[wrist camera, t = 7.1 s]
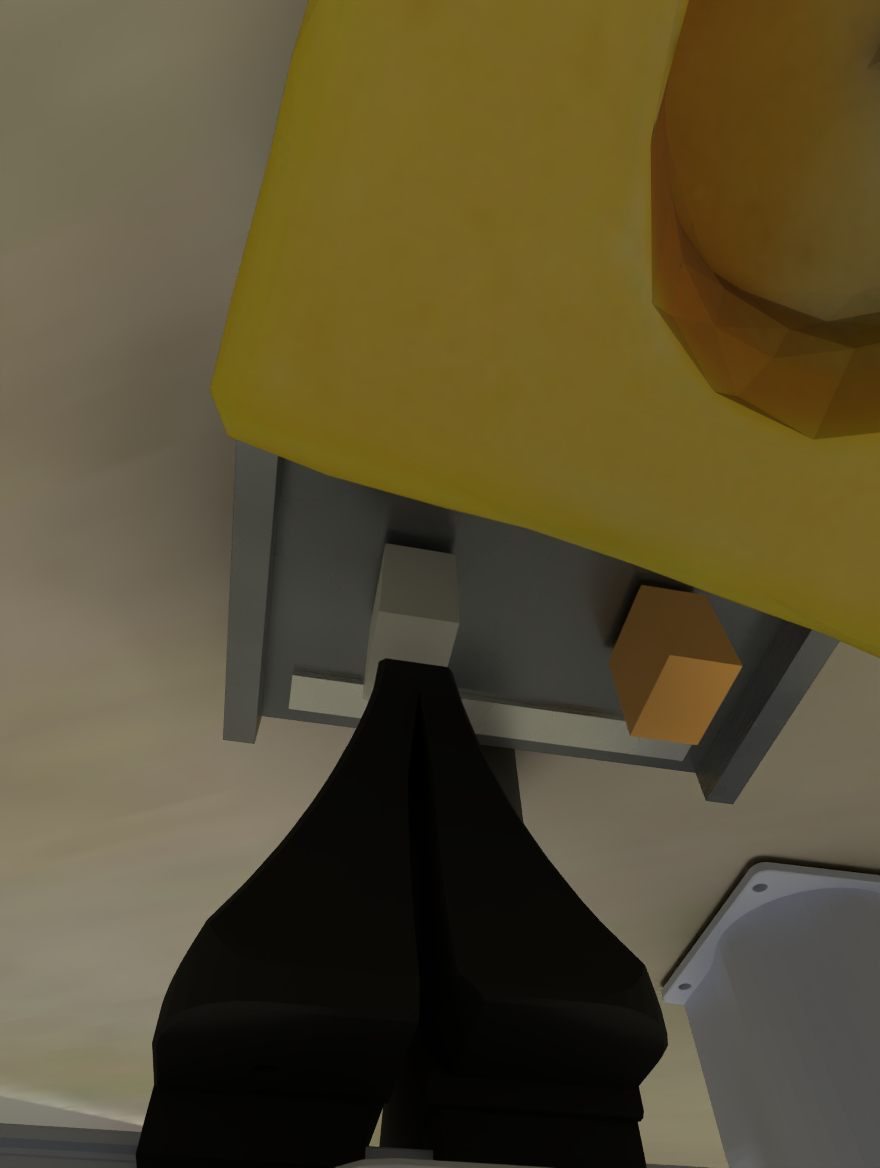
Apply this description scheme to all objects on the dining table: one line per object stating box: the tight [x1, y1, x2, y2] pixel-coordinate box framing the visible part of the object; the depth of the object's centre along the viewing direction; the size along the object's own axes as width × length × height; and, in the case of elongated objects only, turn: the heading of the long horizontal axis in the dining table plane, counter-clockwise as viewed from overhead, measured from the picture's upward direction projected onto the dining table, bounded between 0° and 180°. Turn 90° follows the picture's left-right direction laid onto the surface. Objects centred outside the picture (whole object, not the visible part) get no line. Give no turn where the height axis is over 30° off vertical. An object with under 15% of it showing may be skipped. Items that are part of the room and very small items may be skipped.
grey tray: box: [223, 440, 839, 804], centre depth 18 cm, size 10×14×2 cm
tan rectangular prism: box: [608, 585, 742, 745], centre depth 17 cm, size 2×2×2 cm
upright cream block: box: [362, 543, 459, 700], centre depth 16 cm, size 2×2×2 cm
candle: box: [210, 0, 880, 658], centre depth 9 cm, size 10×10×10 cm
